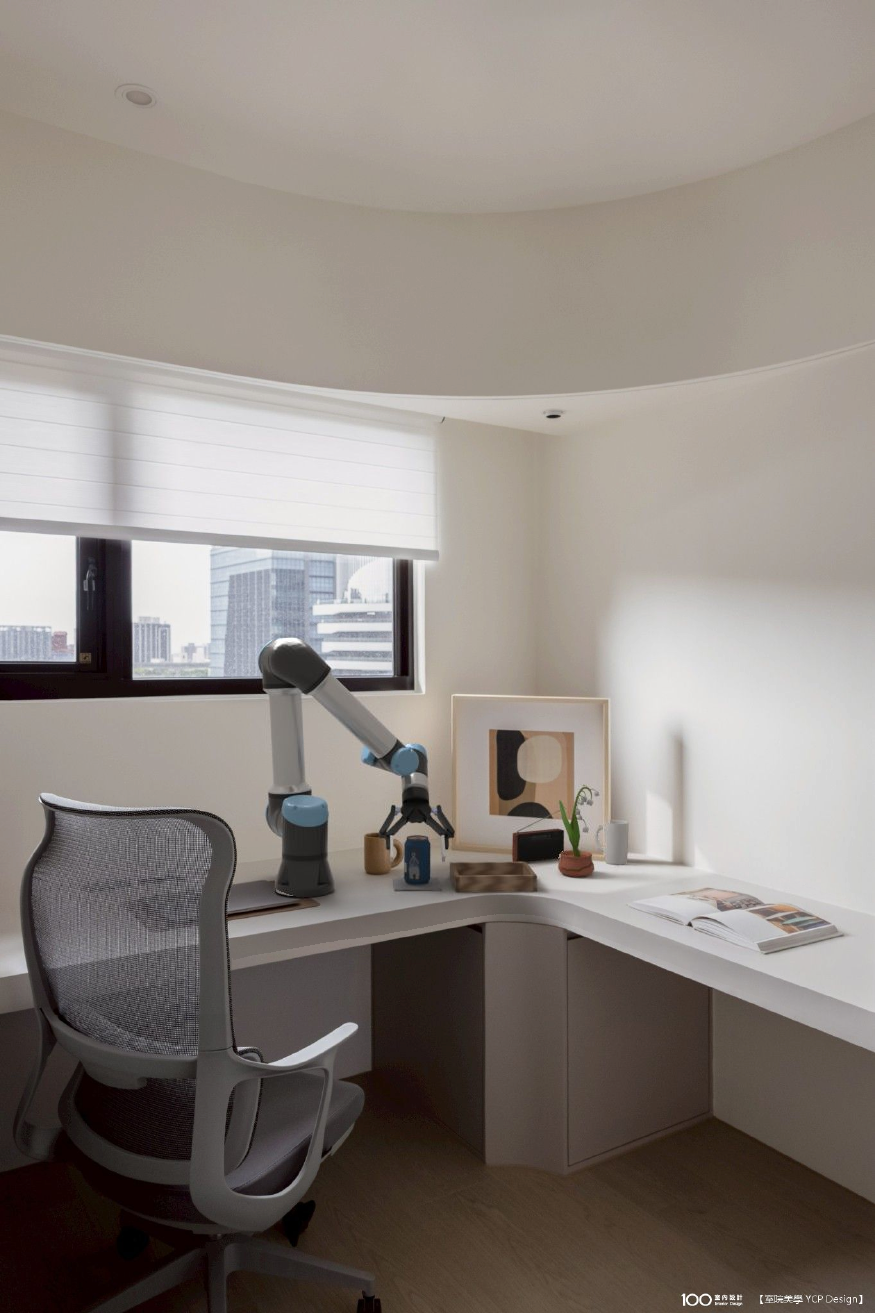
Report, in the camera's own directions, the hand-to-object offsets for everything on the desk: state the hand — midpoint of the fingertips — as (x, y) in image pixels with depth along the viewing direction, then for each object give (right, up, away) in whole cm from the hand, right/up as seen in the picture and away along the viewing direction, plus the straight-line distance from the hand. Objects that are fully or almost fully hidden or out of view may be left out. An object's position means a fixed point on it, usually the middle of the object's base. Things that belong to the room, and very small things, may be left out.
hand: (417, 859), depth 238 cm
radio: (+36, -8, +33) cm, 49 cm away
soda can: (0, -7, +2) cm, 7 cm away
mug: (+56, -8, +31) cm, 65 cm away
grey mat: (0, -7, +2) cm, 7 cm away
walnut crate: (+20, -7, +3) cm, 21 cm away
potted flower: (+45, -8, +15) cm, 48 cm away
